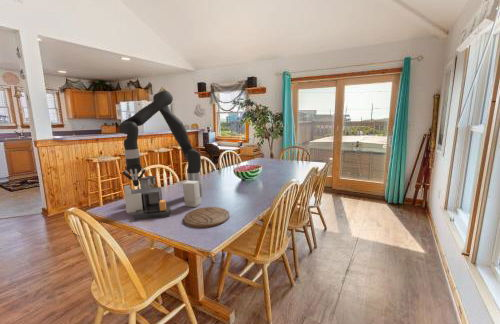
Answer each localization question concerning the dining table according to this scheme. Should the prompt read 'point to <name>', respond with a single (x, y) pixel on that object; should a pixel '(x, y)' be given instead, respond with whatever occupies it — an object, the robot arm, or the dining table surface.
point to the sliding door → (132, 200)
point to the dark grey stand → (149, 197)
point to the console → (151, 213)
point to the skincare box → (191, 193)
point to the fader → (162, 205)
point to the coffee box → (148, 182)
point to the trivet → (206, 217)
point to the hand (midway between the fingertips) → (136, 186)
